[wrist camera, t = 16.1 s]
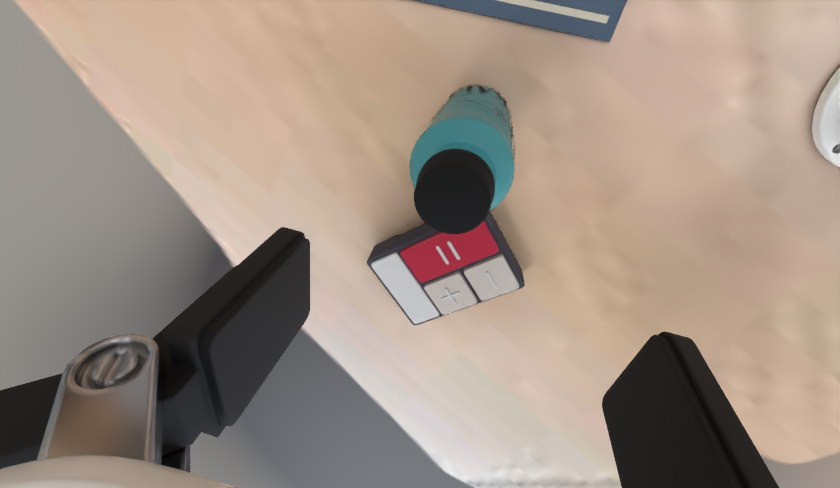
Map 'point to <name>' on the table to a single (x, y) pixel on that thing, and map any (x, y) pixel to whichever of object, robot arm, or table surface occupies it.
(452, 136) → the beverage bottle
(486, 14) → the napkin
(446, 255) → the black buttoned block
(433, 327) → the table surface
